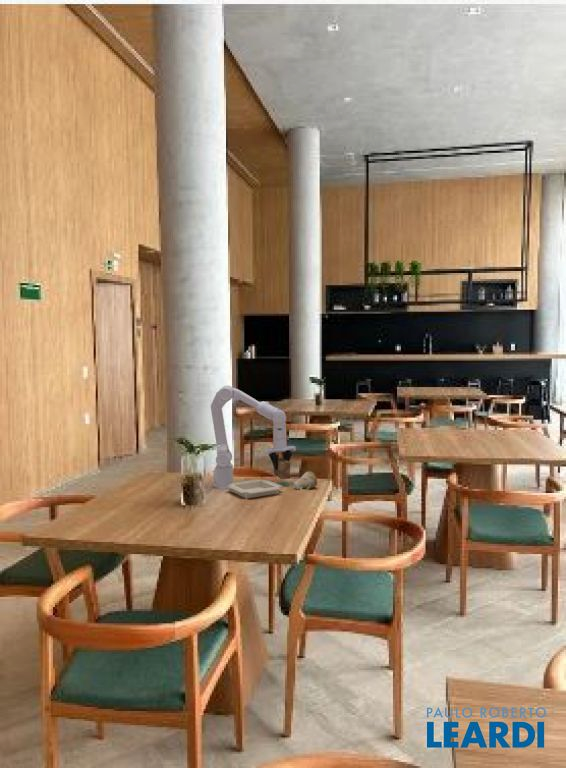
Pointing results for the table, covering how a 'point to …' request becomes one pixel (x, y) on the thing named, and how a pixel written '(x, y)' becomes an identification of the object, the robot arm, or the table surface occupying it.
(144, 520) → the table surface
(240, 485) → the off-white shallow square tray
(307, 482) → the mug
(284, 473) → the box
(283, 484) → the mat
